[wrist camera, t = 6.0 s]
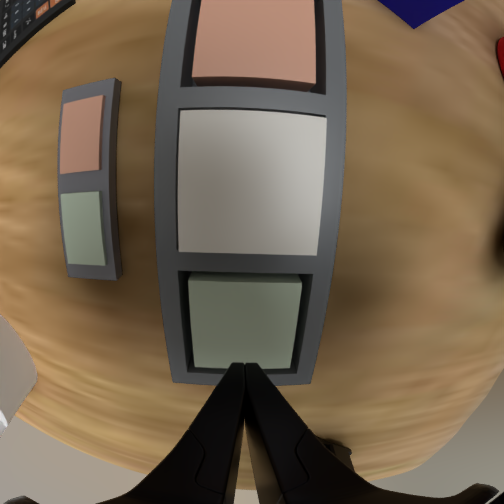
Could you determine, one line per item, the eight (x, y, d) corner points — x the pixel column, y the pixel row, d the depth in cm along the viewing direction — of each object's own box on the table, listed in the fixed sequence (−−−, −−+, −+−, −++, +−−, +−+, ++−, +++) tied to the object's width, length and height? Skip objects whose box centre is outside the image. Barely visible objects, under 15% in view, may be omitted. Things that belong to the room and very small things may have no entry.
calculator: (77, 5, 8) (55, -14, 5) (-29, 107, 9) (-54, 106, 6) (71, -49, 5) (56, -65, 3) (-26, 36, 6) (-45, 31, 3)
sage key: (282, 338, 14) (289, 368, 12) (200, 337, 14) (194, 366, 12) (291, 262, 13) (302, 283, 11) (197, 259, 13) (188, 280, 10)
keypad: (305, 353, 15) (316, 388, 12) (176, 351, 15) (166, 386, 12) (328, 9, 9) (347, -18, 6) (182, 1, 9) (170, -29, 6)
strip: (122, 274, 13) (114, 283, 12) (75, 271, 13) (65, 278, 12) (121, 81, 10) (112, 76, 9) (70, 93, 10) (60, 89, 9)
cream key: (300, 236, 11) (316, 255, 9) (191, 233, 11) (178, 252, 8) (308, 127, 10) (326, 118, 7) (193, 122, 9) (180, 110, 7)
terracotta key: (301, 98, 11) (315, 83, 8) (200, 93, 10) (191, 77, 8) (301, 20, 9) (313, -3, 7) (208, 15, 9) (203, -10, 7)
